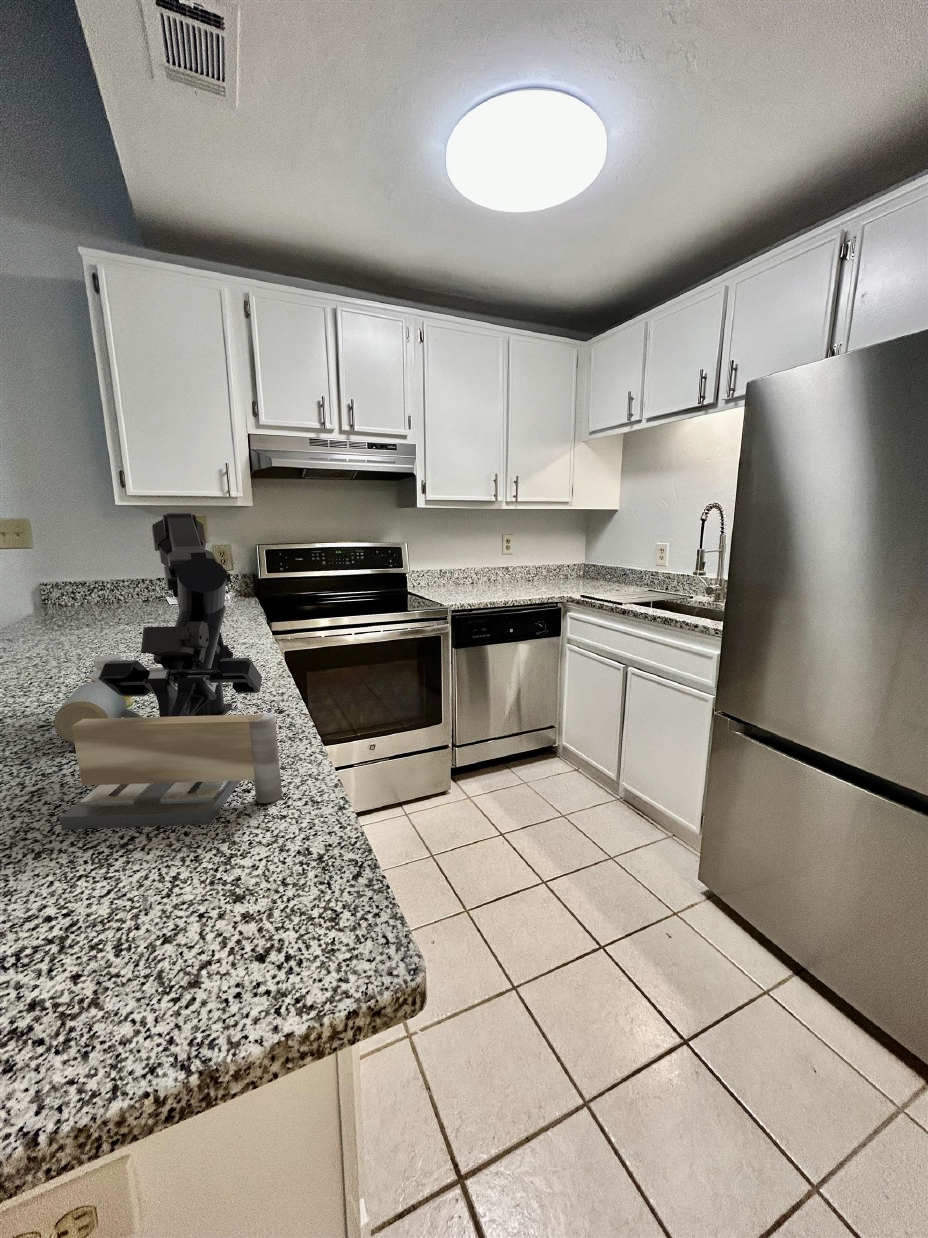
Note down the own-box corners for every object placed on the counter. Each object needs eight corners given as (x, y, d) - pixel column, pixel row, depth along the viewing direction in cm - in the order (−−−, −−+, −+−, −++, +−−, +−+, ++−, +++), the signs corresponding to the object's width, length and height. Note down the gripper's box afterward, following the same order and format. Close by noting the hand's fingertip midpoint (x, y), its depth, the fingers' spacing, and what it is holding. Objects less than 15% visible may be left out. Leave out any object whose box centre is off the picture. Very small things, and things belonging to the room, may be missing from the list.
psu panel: (126, 774, 68) (124, 760, 68) (248, 770, 69) (246, 757, 68) (62, 829, 56) (59, 813, 56) (209, 824, 57) (207, 808, 57)
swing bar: (99, 795, 63) (86, 717, 60) (285, 789, 64) (278, 712, 62) (83, 809, 60) (68, 727, 58) (277, 802, 61) (270, 722, 59)
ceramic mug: (54, 750, 75) (45, 701, 73) (75, 728, 82) (68, 683, 81) (137, 741, 78) (131, 693, 77) (150, 720, 86) (144, 677, 84)
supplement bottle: (140, 705, 92) (133, 653, 90) (118, 717, 87) (109, 662, 85) (113, 704, 93) (105, 652, 90) (89, 715, 87) (79, 661, 85)
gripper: (95, 600, 64) (46, 716, 56) (246, 598, 65) (220, 711, 57) (139, 644, 74) (103, 749, 65) (270, 641, 75) (251, 745, 66)
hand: (167, 739), depth 63 cm, fingers closed
